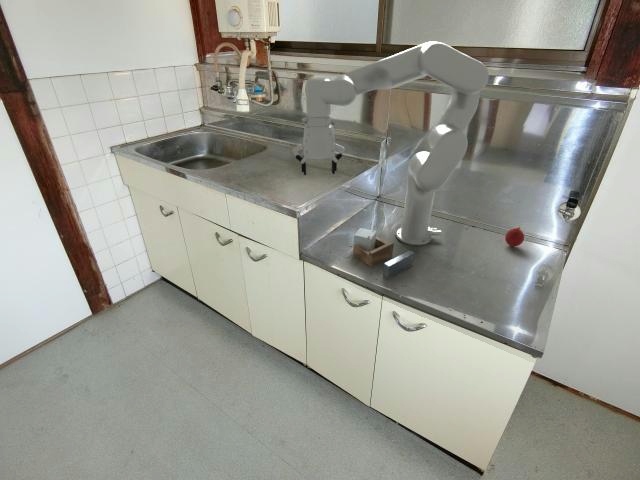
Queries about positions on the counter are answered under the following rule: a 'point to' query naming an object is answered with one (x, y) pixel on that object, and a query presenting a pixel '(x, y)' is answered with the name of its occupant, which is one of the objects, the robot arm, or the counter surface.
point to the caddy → (374, 252)
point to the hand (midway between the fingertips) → (319, 173)
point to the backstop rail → (398, 264)
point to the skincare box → (365, 239)
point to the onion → (514, 237)
